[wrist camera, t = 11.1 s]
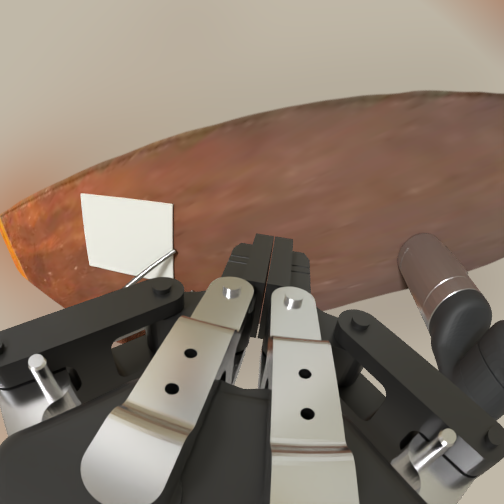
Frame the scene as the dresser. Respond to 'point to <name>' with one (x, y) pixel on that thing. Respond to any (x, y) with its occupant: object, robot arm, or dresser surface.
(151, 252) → the mat
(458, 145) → the dresser surface
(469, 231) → the dresser surface
